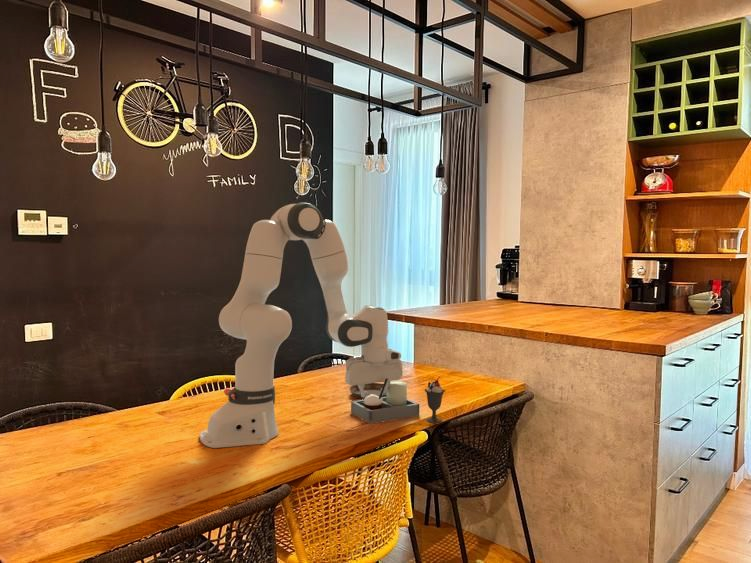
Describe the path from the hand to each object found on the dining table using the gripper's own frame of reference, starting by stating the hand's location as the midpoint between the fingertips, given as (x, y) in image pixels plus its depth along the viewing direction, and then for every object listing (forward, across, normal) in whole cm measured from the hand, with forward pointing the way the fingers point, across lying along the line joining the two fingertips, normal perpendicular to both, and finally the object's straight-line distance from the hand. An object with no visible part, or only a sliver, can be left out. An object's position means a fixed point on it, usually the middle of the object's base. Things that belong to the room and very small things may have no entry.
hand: (374, 395), depth 186 cm
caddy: (+7, +4, 0) cm, 8 cm away
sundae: (+7, +15, -13) cm, 21 cm away
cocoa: (+6, 0, -1) cm, 6 cm away
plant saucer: (+8, +12, +23) cm, 27 cm away
